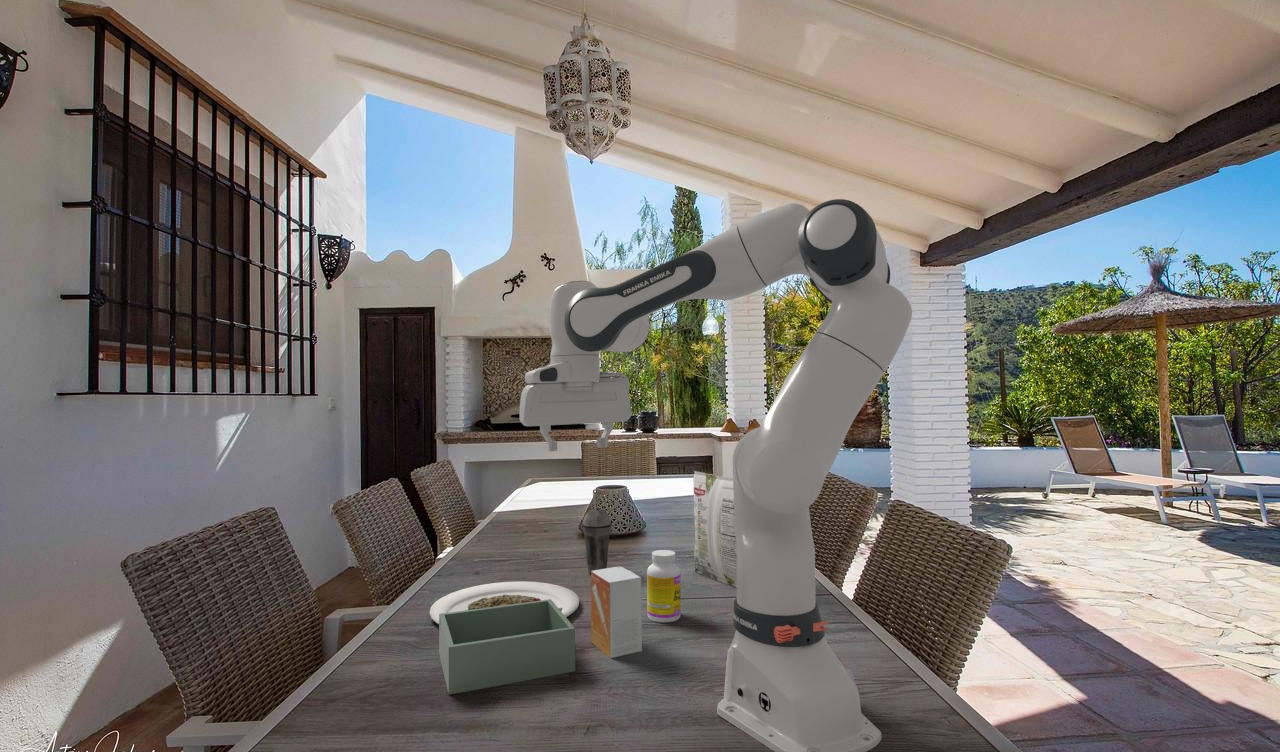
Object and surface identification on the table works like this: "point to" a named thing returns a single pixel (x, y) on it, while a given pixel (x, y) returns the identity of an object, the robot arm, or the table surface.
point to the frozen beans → (714, 527)
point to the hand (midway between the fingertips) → (577, 449)
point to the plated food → (505, 597)
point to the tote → (504, 645)
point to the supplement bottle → (663, 588)
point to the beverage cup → (596, 537)
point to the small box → (616, 611)
